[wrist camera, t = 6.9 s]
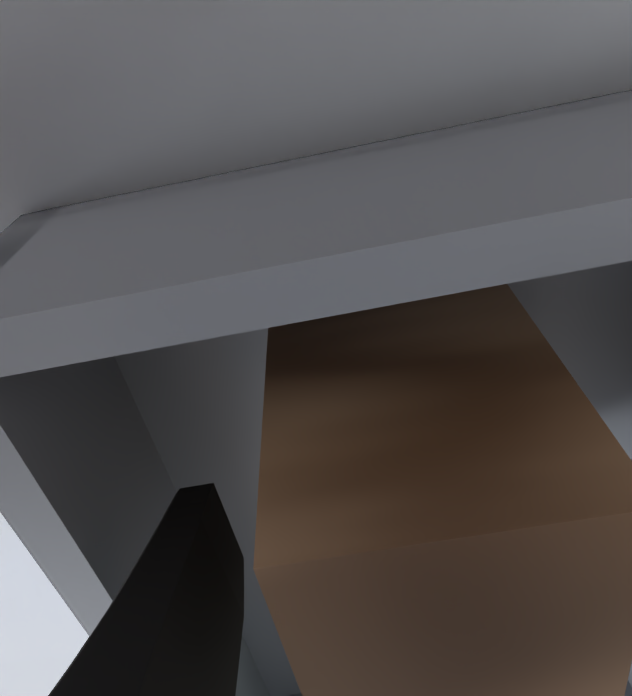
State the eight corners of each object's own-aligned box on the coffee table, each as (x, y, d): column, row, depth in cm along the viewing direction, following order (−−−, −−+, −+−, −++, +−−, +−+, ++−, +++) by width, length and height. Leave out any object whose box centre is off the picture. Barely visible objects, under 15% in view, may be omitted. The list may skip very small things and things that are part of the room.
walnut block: (311, 469, 14) (323, 750, 9) (269, 309, 12) (253, 568, 6) (498, 439, 14) (620, 712, 9) (496, 268, 11) (664, 507, 6)
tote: (254, 694, 21) (246, 855, 17) (21, 215, 11) (-122, 342, 7) (627, 641, 20) (707, 800, 16) (732, 69, 10) (1002, 126, 6)
